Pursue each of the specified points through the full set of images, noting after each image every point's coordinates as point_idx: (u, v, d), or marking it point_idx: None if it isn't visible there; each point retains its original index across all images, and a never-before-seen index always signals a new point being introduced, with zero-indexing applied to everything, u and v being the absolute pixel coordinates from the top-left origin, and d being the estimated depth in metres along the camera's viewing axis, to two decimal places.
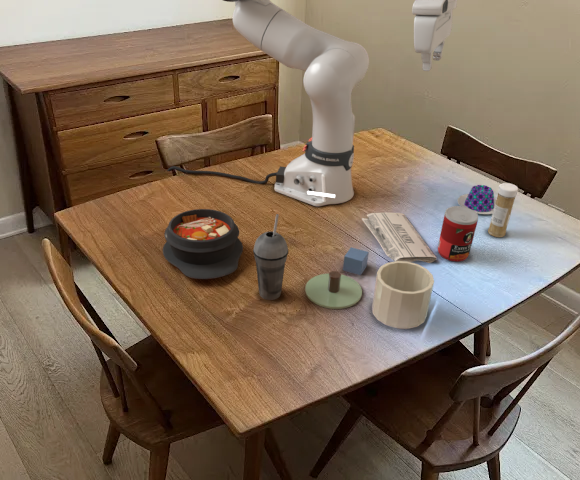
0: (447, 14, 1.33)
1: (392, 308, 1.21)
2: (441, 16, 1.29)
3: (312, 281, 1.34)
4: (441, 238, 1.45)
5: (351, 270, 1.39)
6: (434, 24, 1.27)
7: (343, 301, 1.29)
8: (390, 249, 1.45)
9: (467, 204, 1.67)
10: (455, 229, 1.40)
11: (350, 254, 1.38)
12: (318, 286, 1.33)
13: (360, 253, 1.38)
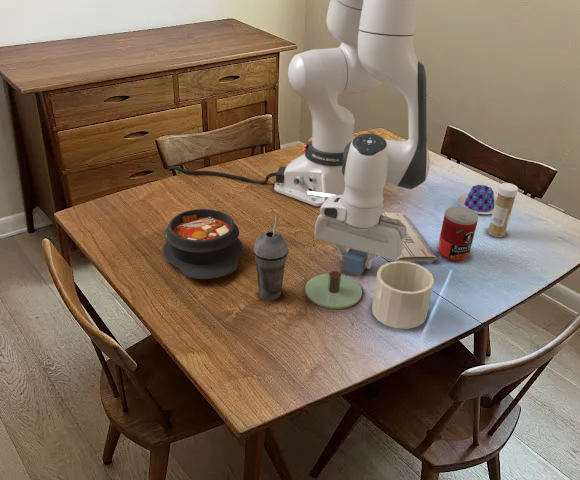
0: (350, 226, 1.31)
1: (392, 308, 1.21)
2: (330, 218, 1.33)
3: (312, 281, 1.34)
4: (441, 238, 1.45)
5: (351, 270, 1.38)
6: (317, 218, 1.35)
7: (343, 301, 1.29)
8: None
9: (467, 204, 1.67)
10: (455, 229, 1.40)
11: (350, 254, 1.38)
12: (318, 286, 1.33)
13: (360, 253, 1.38)
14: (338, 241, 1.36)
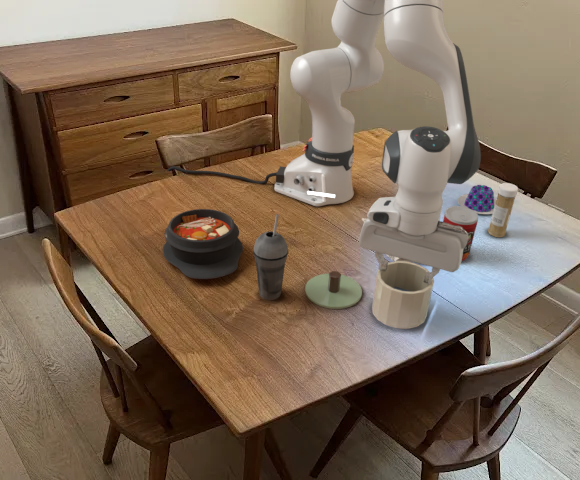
0: (403, 233, 1.14)
1: (392, 308, 1.21)
2: (379, 224, 1.16)
3: (312, 281, 1.34)
4: None
5: None
6: None
7: (343, 301, 1.29)
8: None
9: (467, 204, 1.67)
10: None
11: None
12: (318, 286, 1.33)
13: None
14: (387, 250, 1.19)
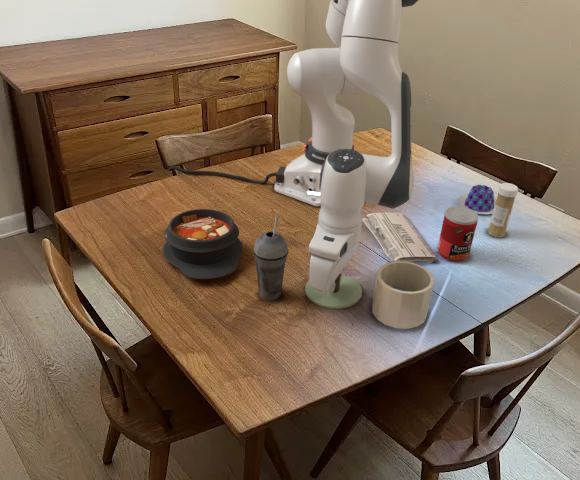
0: None
1: (392, 308, 1.21)
2: (339, 257, 1.19)
3: None
4: (441, 238, 1.45)
5: None
6: (330, 269, 1.18)
7: (343, 301, 1.29)
8: (390, 249, 1.45)
9: (467, 204, 1.67)
10: (455, 229, 1.40)
11: None
12: None
13: None
14: (337, 274, 1.25)
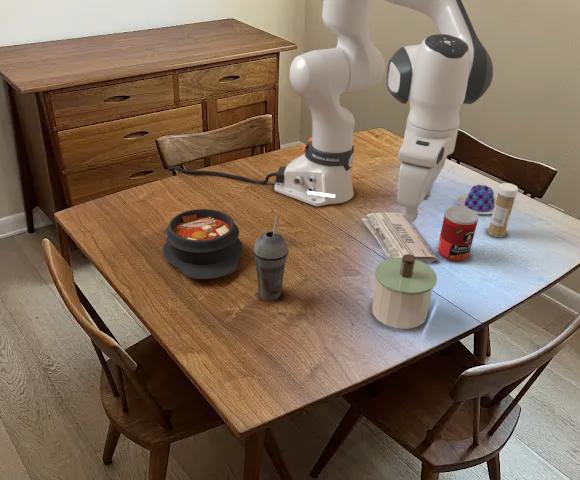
0: (442, 158, 1.05)
1: (392, 308, 1.21)
2: None
3: (382, 265, 1.24)
4: (441, 238, 1.45)
5: None
6: (425, 178, 0.99)
7: (418, 286, 1.19)
8: (390, 249, 1.45)
9: (467, 204, 1.67)
10: (455, 229, 1.40)
11: None
12: (389, 271, 1.23)
13: None
14: (426, 191, 1.06)
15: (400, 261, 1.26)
